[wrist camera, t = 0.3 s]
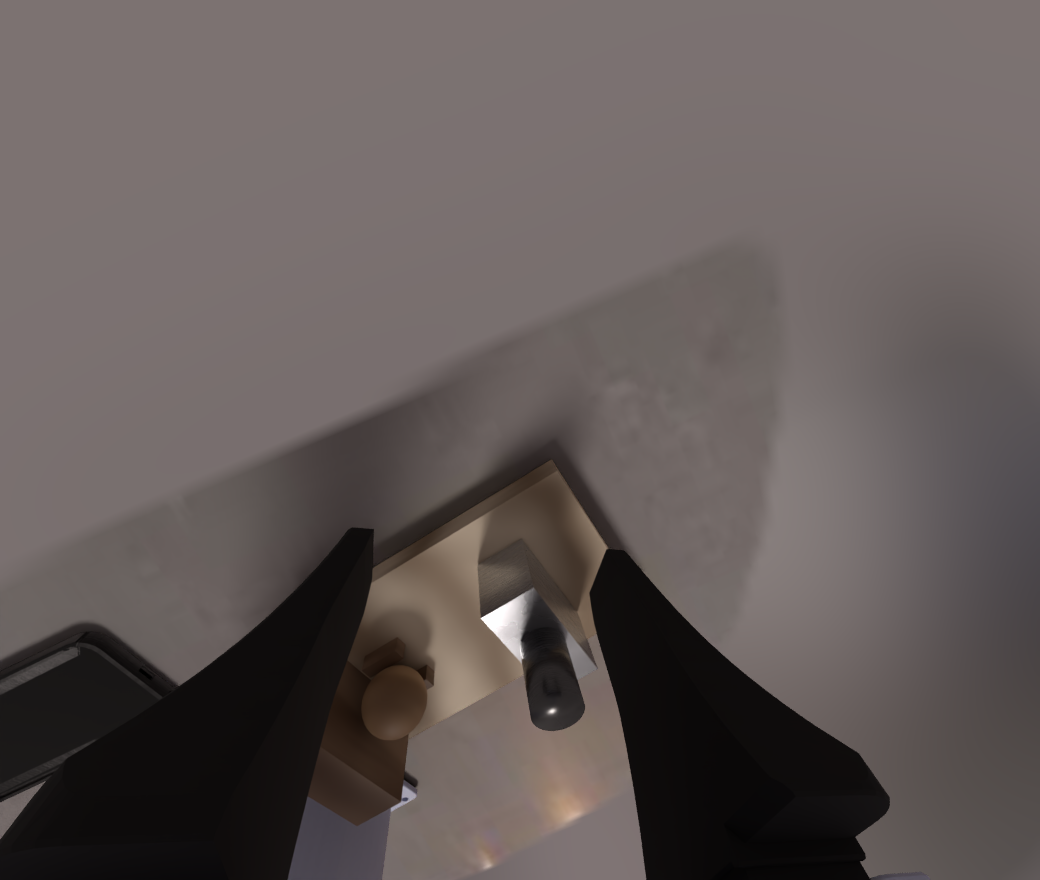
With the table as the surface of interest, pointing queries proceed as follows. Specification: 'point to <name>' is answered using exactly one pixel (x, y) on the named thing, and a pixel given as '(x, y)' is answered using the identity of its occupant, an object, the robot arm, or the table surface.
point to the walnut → (394, 702)
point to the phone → (67, 705)
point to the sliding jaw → (537, 633)
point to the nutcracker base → (446, 629)
